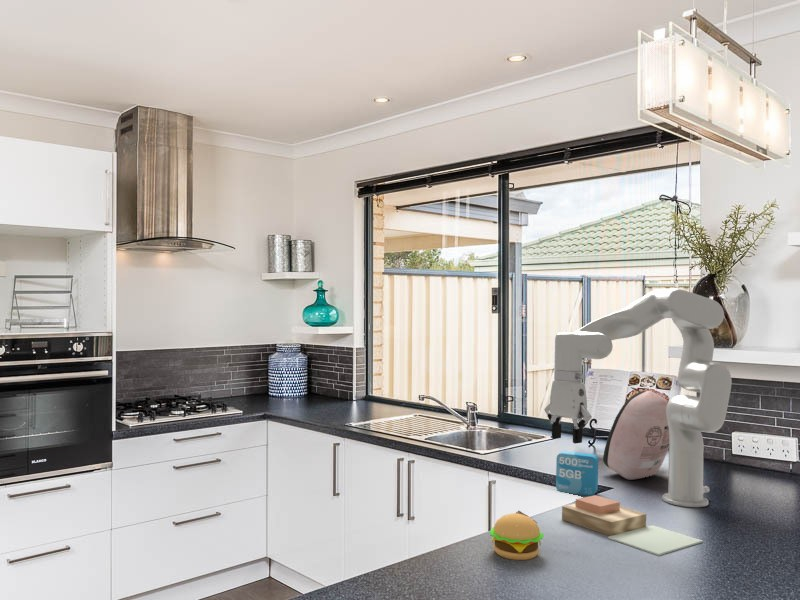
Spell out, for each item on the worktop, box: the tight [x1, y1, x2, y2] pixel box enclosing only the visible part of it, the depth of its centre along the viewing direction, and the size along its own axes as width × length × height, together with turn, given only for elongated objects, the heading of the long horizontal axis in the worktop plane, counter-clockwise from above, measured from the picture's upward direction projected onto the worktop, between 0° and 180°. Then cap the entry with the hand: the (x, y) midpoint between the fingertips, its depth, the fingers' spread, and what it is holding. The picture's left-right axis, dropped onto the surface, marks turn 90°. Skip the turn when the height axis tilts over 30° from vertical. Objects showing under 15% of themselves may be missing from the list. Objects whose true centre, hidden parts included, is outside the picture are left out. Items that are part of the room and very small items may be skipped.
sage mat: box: [607, 524, 704, 557], centre depth 168 cm, size 18×14×1 cm
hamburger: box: [489, 512, 544, 561], centre depth 157 cm, size 12×12×9 cm
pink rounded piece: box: [602, 390, 669, 481], centre depth 233 cm, size 22×20×30 cm
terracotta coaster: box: [575, 494, 621, 514], centre depth 182 cm, size 8×8×2 cm
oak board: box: [561, 503, 647, 537], centre depth 181 cm, size 14×16×4 cm
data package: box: [555, 450, 599, 497], centre depth 212 cm, size 12×4×12 cm, turn 65°
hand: (566, 440), depth 191 cm, fingers open, 6 cm apart
